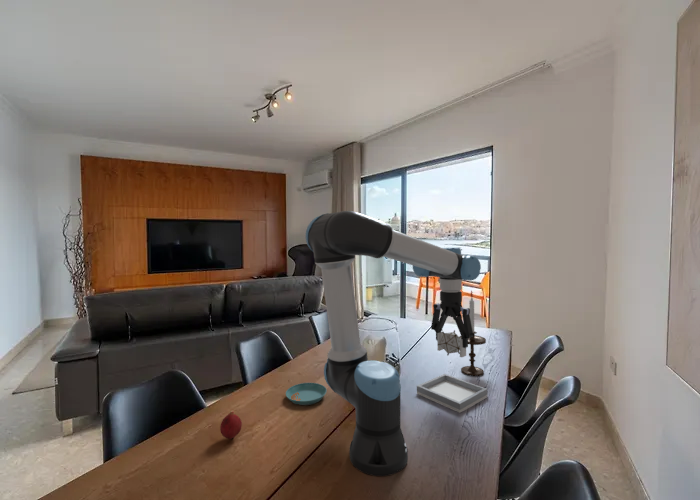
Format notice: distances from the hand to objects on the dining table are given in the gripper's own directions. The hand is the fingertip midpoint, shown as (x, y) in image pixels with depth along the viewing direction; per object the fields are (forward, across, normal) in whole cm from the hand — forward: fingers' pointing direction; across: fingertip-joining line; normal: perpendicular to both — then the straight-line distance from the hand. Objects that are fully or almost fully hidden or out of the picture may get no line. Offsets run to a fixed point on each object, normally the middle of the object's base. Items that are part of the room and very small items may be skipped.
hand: (451, 352), depth 121 cm
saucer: (+16, +33, +41) cm, 55 cm away
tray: (+16, 0, 0) cm, 16 cm away
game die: (0, 0, 0) cm, 1 cm away
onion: (+15, +25, +71) cm, 77 cm away
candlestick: (+16, +7, -25) cm, 31 cm away
